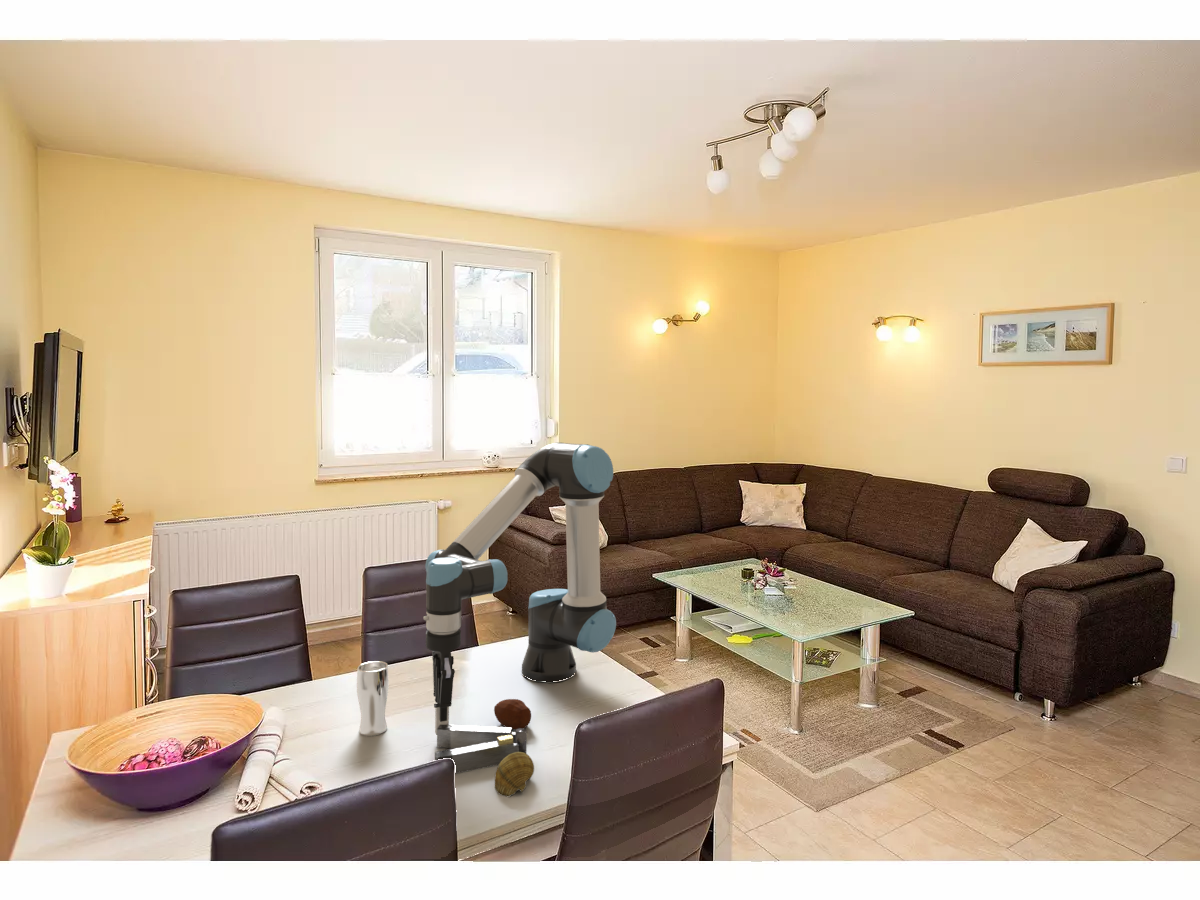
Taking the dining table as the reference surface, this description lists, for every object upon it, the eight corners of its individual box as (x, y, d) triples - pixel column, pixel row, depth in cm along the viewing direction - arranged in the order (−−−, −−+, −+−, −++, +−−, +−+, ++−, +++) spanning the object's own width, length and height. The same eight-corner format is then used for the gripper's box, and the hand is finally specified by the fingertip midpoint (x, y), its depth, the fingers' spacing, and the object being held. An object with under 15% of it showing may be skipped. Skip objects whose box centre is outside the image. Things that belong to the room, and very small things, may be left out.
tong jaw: (517, 745, 157) (517, 727, 157) (515, 750, 155) (515, 732, 155) (440, 741, 158) (440, 724, 158) (437, 747, 156) (437, 729, 155)
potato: (512, 738, 161) (512, 710, 161) (487, 724, 168) (488, 697, 167) (536, 728, 166) (536, 701, 166) (511, 715, 173) (511, 689, 172)
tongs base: (524, 749, 156) (524, 727, 156) (530, 758, 152) (530, 735, 152) (433, 767, 148) (433, 744, 148) (437, 777, 144) (437, 753, 144)
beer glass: (377, 739, 160) (376, 673, 158) (350, 734, 162) (350, 669, 160) (395, 725, 166) (394, 662, 165) (369, 721, 168) (368, 659, 167)
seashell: (518, 814, 139) (546, 784, 139) (491, 799, 136) (519, 768, 136) (510, 780, 148) (535, 751, 148) (484, 765, 145) (510, 735, 145)
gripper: (421, 621, 161) (419, 722, 163) (431, 641, 149) (430, 749, 151) (454, 618, 164) (452, 717, 166) (467, 637, 152) (465, 743, 154)
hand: (441, 732), depth 159 cm, fingers closed
